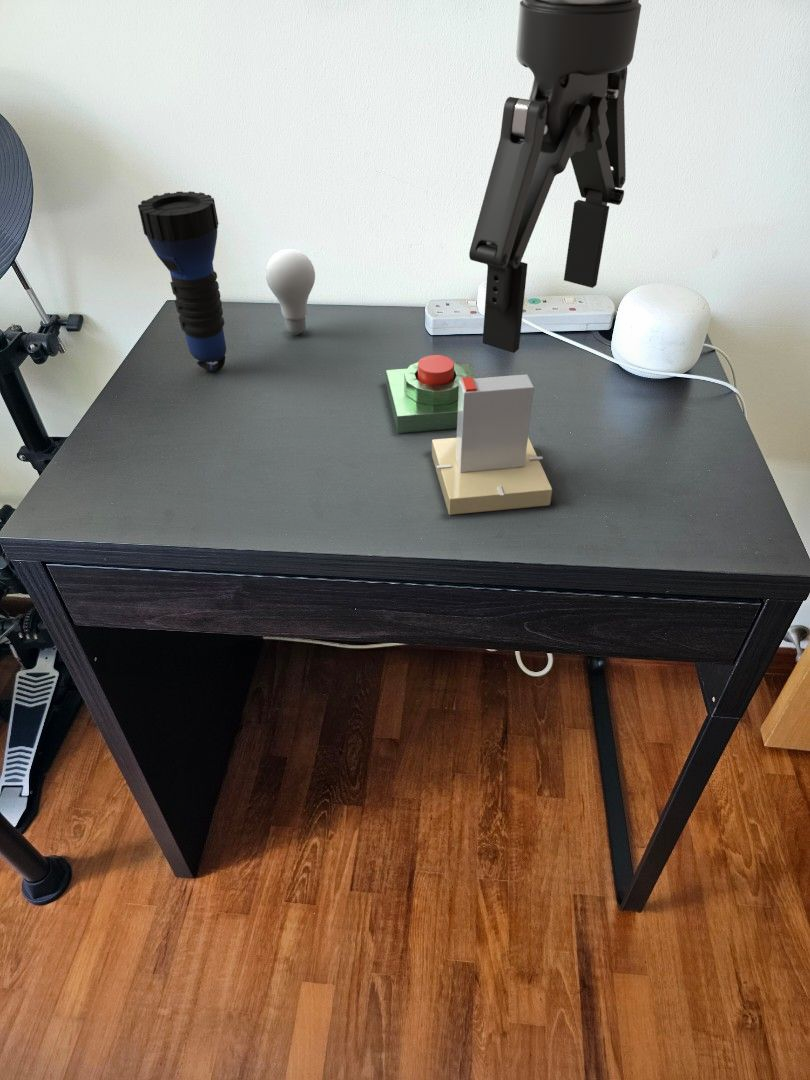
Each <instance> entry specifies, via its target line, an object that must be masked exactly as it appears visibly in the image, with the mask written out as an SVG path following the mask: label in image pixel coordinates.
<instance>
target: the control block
mask: <svg viewBox="0 0 810 1080" xmlns="http://www.w3.org/2000/svg"><path fill="white" fill-rule="evenodd" d="M418 362H419V361H417V362H415V363H412V364H410V365H408V367H407V368H398V369H386V370H385V383H386V384H385V385H386V390H387V395H388V399H389V403H390V407H391V412H392V416H393V420H394V424H395V428H396V432H397V434H407V433H418V432H429V431H430V432H431V431H441V430H454V429H457V417H458V395H459V380H462V378H466V377H472V378H473V379H474V378H477V377H476V374H475V373H474V370H473V367H472V365H471V363H463V364H458V363H457V362H454V361H453V362H454V379H453V381H452V382H450V383H448V384H446V385H435V386H433V385H428V384H423V383H422V382H420V381H419V380H418Z"/></svg>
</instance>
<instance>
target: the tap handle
mask: <svg viewBox="0 0 810 1080" xmlns="http://www.w3.org/2000/svg"><path fill="white" fill-rule="evenodd" d="M534 388H535V386H534V385H533V382H532V381H531V379H530V377H529V374H515V375H514V374H513V375H501V376H490V377H476V378H474V379H473V378H472V377H466V378H462V380H459V395H458V417H457V428H456V437H457V439H456V461H457V464H458V467H459V470H460V472H472V471H483V470H494V469H505V468H516V467H524V466H525V459H526V450H527V442H528V437H529V434H530V433H529V432H530V425H531V424H530V423H531V415H532V407H533V398H534Z"/></svg>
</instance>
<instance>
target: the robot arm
mask: <svg viewBox="0 0 810 1080" xmlns="http://www.w3.org/2000/svg"><path fill="white" fill-rule="evenodd" d="M639 1H640V0H520V1H519V10H518V22H517V33H516V48H515V56H516V60H517V61H518V63H519V64H520V65H521V66H523V68H528V69H529V70H530V71H531V72H532V74H533V81H532V88H531V91H530V95H529V98H528V99H526V98H520V97H514V96H508V97H507V98H506V100H505V102H504V105H503V111H502V120H501V126H500V128H501V129H500V135H499V140H498V144H497V148H496V152H495V154H494V155H495V156H494V159H493V163H492V166H491V171H490V174H489V178H488V182H487V185H486V189H485V192H484V196H483V200H482V203H481V207H480V211H479V215H478V218H477V222H476V226H475V229H474V234H473V237H472V241H471V244H470V248H469V253H468V254H469V255H468V256H469V260H470V261H473V262H477V263H481V264H484V265H487V270H486V287H485V300H484V301H485V302H484V315H483V331H482V344H484V345H487V346H490V347H494V348H497V349H500V350H503V351H506V352H508V353H512V354H515V353H516V352H518V351H519V349H520V344H521V333H522V322H523V315H524V304H525V303H524V302H525V296H526V295H525V294H526V286H527V285H526V284H527V276H528V275H527V274H528V264H529V263H527V262H523V261H522V260H523V258H524V256H525V255H524V254H525V252H526V250H527V247H528V245H529V242H530V239H531V237H532V235H533V233H534V230H535V227H536V224H537V223H538V220H539V217H540V214H541V212H542V209H543V207H544V204H545V202H546V199H547V197H548V195H549V192H550V190H551V187H552V184H553V182H554V179H555V177H556V176H558V175H559V174H561V173H563V172H564V171H565V170H566V167H567V165H568V163H569V160H570V163H571V165H572V169H573V172H574V176H575V180H576V183H577V186H578V191H579V194H580V197H581V198H583V199H585V200H582V199H577V200H576V201H574V202H573V209H572V216H571V223H570V231H569V237H568V238H569V239H568V246H567V253H566V259H565V268H564V274H563V275H564V276H563V281H565V282H568V283H572V284H576V285H580V286H584V287H588V288H590V289H594V288H595V287H596V286H597V285H598V278H599V273H600V266H601V262H602V261H601V260H602V254H603V249H604V241H605V235H606V229H607V224H608V217H609V210H610V205H611V204H612V205H617V206H620V205H621V203H623V199H624V196H625V190H624V189H622V188H623V186H624V185H625V183H626V169H627V168H626V125H625V121H626V119H625V116H626V115H625V96H626V95H625V94H626V86H627V79H628V66H629V65H630V64H631V63H632V60H633V58H634V53H635V47H636V41H637V34H638V29H639V22H640V16H641V9H642V4H641V3H640V2H639ZM611 167H612V168H611ZM608 204H610V205H608Z"/></svg>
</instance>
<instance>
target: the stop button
mask: <svg viewBox="0 0 810 1080" xmlns="http://www.w3.org/2000/svg"><path fill="white" fill-rule="evenodd" d="M417 362H418V380H419V381H420V382H422V383H423V384H428V385H433V386H435V385H446V384H448V383H450V382H452V381H453V379H454V360H453V359H452V358H450V357H449V356H444V355H442V354H441V355H440V354H432V355H431V354H430V355H425V356H423V357H422V358H420V359H419V360H418V361H417Z"/></svg>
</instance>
